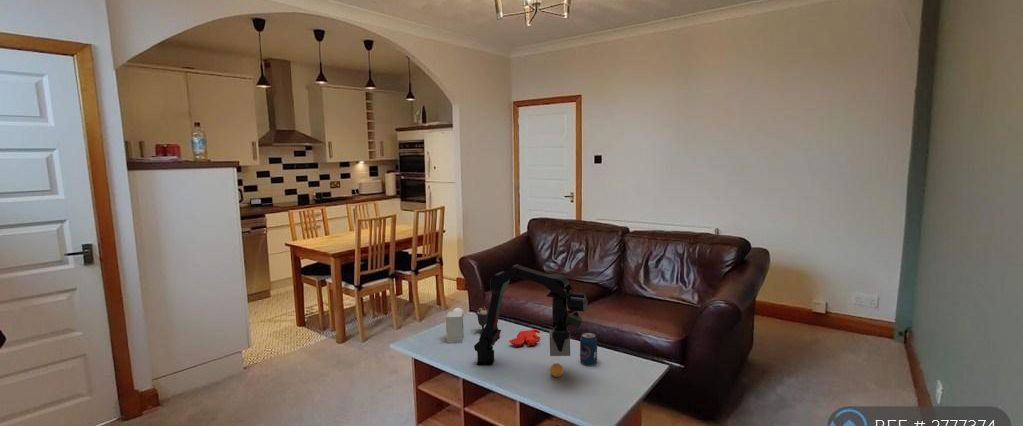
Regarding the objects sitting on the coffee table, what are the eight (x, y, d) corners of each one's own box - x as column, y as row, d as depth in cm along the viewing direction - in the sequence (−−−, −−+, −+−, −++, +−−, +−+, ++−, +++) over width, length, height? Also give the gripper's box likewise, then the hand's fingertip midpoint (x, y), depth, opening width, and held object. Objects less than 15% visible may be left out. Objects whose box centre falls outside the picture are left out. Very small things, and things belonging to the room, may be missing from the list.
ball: (565, 375, 186) (554, 381, 186) (565, 369, 190) (554, 375, 191) (558, 364, 185) (547, 371, 186) (558, 359, 190) (547, 365, 191)
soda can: (576, 363, 199) (576, 335, 198) (586, 357, 204) (586, 330, 203) (591, 368, 195) (590, 339, 193) (600, 362, 200) (600, 334, 198)
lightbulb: (459, 332, 235) (458, 310, 233) (449, 330, 238) (448, 308, 237) (467, 328, 240) (466, 307, 239) (457, 326, 244) (456, 305, 242)
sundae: (488, 335, 231) (487, 305, 229) (474, 334, 232) (473, 304, 230) (491, 330, 237) (490, 300, 235) (478, 329, 238) (477, 300, 236)
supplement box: (462, 342, 223) (461, 316, 221) (446, 343, 223) (445, 317, 221) (464, 336, 230) (463, 311, 228) (448, 336, 230) (447, 311, 228)
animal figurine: (505, 346, 219) (504, 335, 218) (527, 336, 230) (526, 325, 229) (524, 353, 211) (524, 342, 210) (546, 342, 222) (545, 331, 221)
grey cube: (550, 356, 184) (549, 337, 183) (549, 347, 191) (549, 330, 190) (570, 355, 183) (569, 337, 182) (569, 347, 191) (568, 329, 190)
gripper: (582, 317, 175) (583, 357, 177) (579, 300, 193) (579, 337, 195) (552, 317, 176) (552, 357, 178) (551, 300, 194) (551, 337, 196)
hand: (560, 347), depth 187 cm, fingers closed on grey cube, 8 cm apart
